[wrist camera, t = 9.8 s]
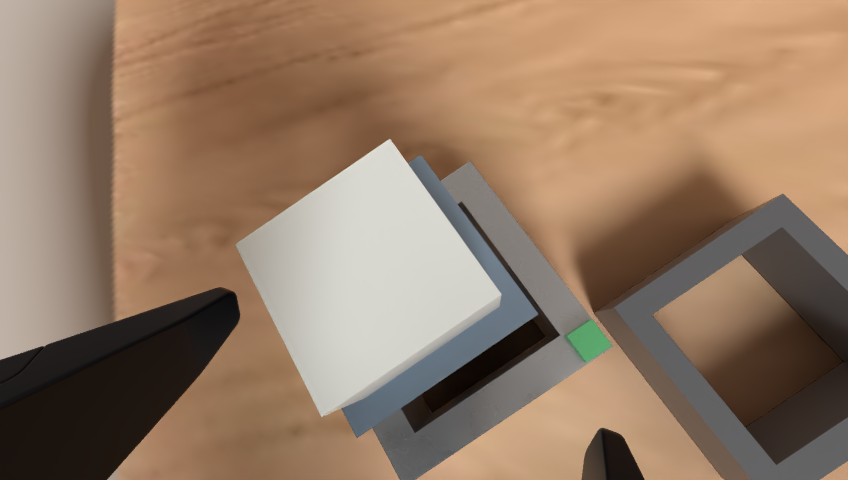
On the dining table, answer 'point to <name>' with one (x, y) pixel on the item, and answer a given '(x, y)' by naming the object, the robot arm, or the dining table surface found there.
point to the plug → (380, 286)
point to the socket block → (517, 379)
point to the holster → (694, 397)
